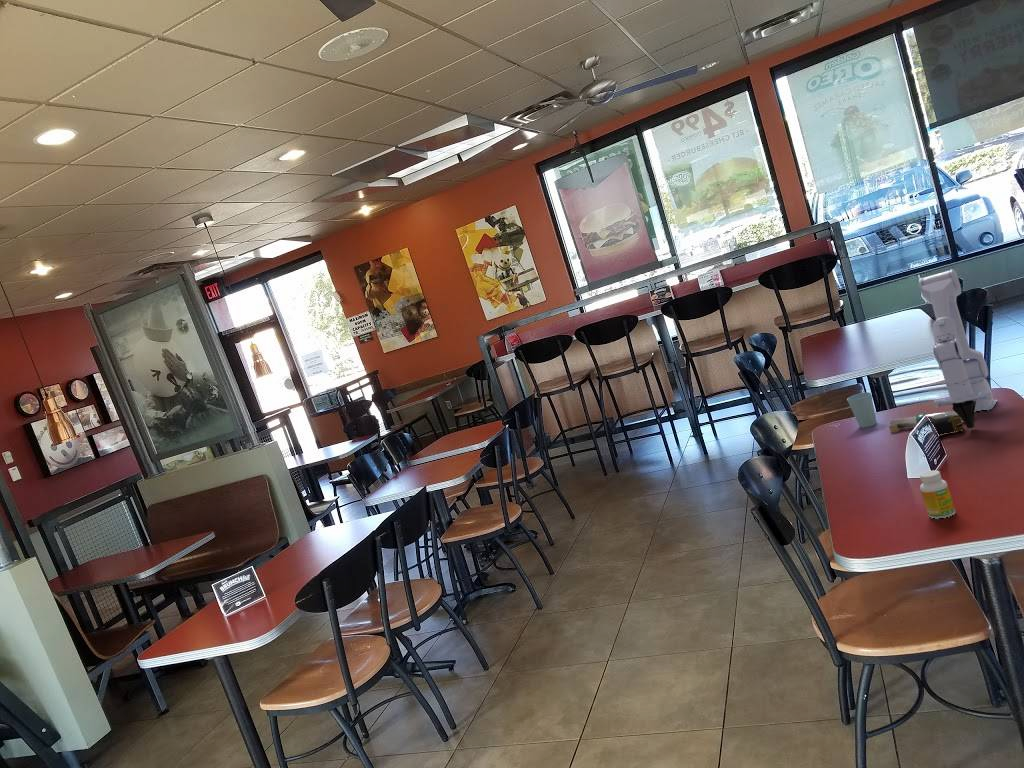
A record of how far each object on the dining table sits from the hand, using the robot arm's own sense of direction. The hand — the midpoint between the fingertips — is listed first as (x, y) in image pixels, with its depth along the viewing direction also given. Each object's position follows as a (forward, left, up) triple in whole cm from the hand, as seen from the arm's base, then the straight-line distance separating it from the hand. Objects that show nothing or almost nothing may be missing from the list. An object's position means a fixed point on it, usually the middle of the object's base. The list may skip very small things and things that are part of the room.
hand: (971, 426), depth 218 cm
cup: (-22, -37, -1) cm, 43 cm away
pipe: (-11, -14, -1) cm, 18 cm away
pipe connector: (+1, -8, -2) cm, 8 cm away
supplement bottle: (+62, +8, -1) cm, 63 cm away
